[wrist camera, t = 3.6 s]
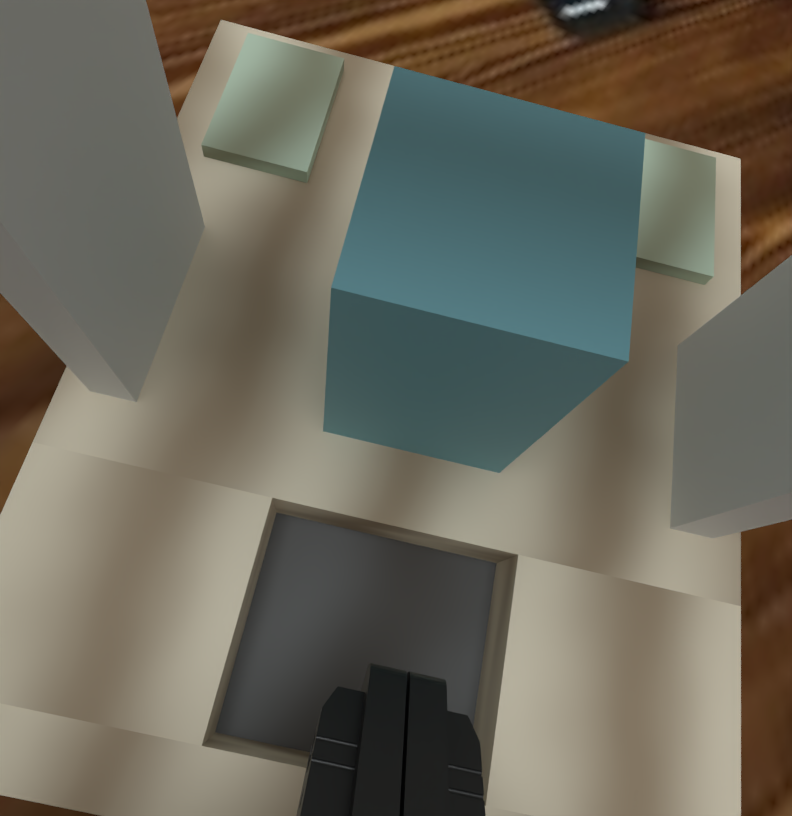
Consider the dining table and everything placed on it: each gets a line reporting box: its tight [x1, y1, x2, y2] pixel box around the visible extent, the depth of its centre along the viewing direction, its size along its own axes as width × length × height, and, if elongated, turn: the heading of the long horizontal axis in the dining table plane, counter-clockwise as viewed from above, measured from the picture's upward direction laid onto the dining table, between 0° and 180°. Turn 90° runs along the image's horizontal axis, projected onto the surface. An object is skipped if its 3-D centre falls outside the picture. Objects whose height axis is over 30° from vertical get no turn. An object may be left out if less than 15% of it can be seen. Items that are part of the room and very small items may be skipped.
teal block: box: [323, 66, 645, 473], centre depth 17 cm, size 6×6×9 cm
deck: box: [0, 20, 741, 816], centre depth 22 cm, size 23×28×4 cm
